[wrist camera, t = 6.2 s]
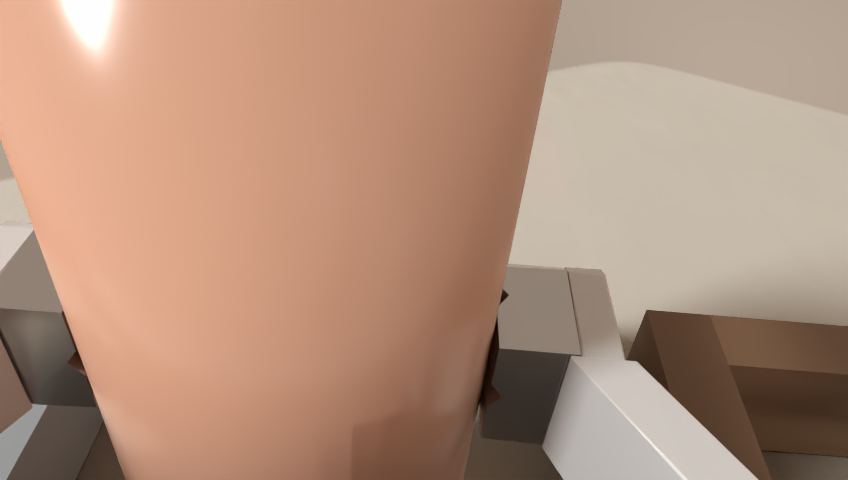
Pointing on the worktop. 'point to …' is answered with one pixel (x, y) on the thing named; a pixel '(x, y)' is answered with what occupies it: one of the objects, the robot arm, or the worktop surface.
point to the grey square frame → (48, 443)
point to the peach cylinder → (277, 219)
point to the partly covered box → (753, 381)
